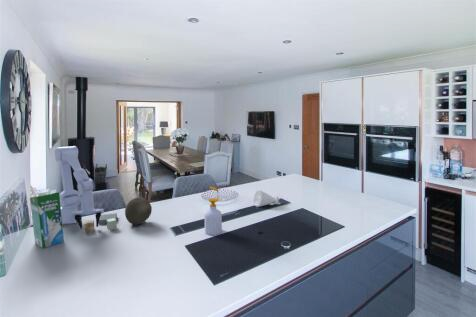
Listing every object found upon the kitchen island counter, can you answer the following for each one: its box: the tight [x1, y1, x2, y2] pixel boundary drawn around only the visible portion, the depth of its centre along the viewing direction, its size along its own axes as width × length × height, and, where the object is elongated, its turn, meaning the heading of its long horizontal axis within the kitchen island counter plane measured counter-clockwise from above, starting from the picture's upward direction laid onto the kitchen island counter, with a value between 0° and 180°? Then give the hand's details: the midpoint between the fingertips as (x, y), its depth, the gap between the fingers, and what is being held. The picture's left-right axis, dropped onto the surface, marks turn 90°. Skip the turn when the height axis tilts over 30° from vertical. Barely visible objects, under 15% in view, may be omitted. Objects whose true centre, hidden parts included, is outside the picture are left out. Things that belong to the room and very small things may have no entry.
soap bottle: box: [203, 185, 223, 236], centre depth 143 cm, size 9×9×25 cm
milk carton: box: [29, 191, 65, 249], centre depth 130 cm, size 9×9×25 cm
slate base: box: [98, 212, 118, 225], centre depth 159 cm, size 9×9×2 cm
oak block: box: [83, 219, 95, 234], centre depth 145 cm, size 4×4×5 cm
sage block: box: [106, 218, 118, 231], centre depth 148 cm, size 4×4×5 cm
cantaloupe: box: [124, 197, 153, 226], centre depth 154 cm, size 14×14×15 cm
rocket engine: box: [253, 189, 282, 208], centre depth 190 cm, size 12×12×18 cm
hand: (89, 227), depth 145 cm, fingers open, 7 cm apart
